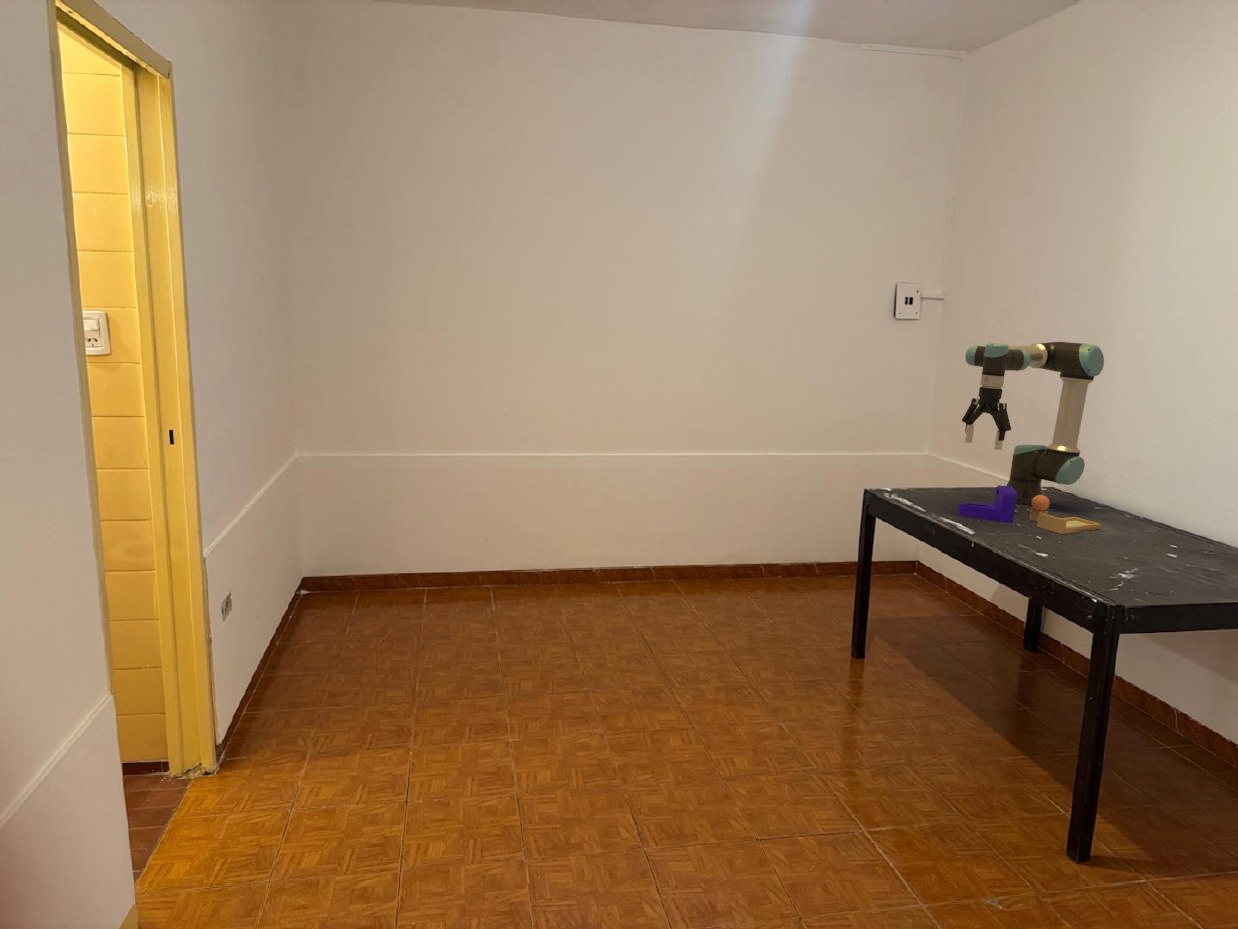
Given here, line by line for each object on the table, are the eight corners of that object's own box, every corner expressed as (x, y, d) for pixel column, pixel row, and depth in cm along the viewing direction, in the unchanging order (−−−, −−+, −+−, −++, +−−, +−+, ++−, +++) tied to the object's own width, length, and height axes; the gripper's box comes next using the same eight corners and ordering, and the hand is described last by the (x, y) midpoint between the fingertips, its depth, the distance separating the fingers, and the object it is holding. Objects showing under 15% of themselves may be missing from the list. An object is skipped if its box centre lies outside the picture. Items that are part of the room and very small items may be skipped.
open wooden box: (1036, 518, 322) (1037, 508, 321) (1046, 521, 319) (1047, 510, 318) (1029, 519, 320) (1031, 509, 319) (1039, 522, 317) (1040, 511, 316)
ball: (1037, 508, 323) (1039, 492, 321) (1051, 512, 318) (1054, 496, 316) (1026, 509, 320) (1029, 493, 319) (1041, 513, 315) (1044, 497, 313)
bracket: (1005, 516, 324) (1010, 485, 322) (1012, 523, 313) (1017, 491, 311) (954, 510, 327) (959, 480, 325) (960, 517, 317) (964, 486, 314)
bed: (1073, 522, 320) (1075, 508, 319) (1099, 529, 312) (1101, 515, 311) (1036, 526, 310) (1039, 513, 309) (1062, 534, 301) (1065, 520, 300)
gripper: (956, 382, 316) (949, 439, 321) (1011, 391, 294) (1002, 452, 298) (972, 382, 319) (964, 439, 324) (1027, 391, 297) (1018, 452, 301)
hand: (982, 446), depth 311 cm, fingers open, 13 cm apart
